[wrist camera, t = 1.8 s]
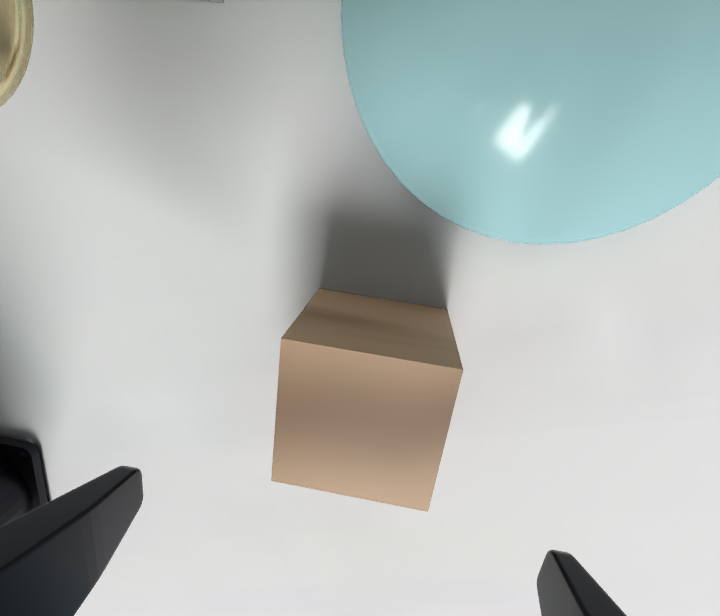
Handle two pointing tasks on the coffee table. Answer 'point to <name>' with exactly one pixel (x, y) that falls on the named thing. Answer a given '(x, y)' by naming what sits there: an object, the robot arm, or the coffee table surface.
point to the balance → (17, 43)
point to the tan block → (365, 398)
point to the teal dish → (540, 108)
